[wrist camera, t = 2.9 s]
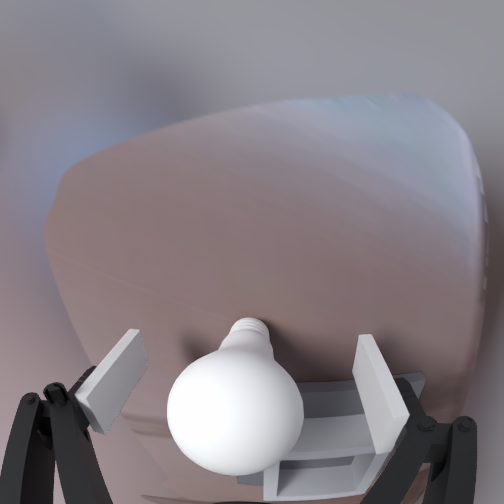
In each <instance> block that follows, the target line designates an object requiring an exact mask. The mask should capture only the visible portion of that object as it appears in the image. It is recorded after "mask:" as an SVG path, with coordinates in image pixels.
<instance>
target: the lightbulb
mask: <svg viewBox="0 0 504 504" xmlns="http://www.w3.org/2000/svg"><path fill="white" fill-rule="evenodd" d="M269 339H270V338H269V331H268V328H267V326H266V325H265V324H264V323H263V322H262V321H260V320H258V319H255V318H243V319H240V320H238V321H237V322H235V324H234V325H233V327H232V328H231V330H230V333H229V335H228V336H227V337H226V338H225V339H224V340H223V342H222V344H221V346H220V348H219V349H218V350H217V351H215V352H212V353H210V354H208V355H206V356H204V357H201V358H199V359H197V360H196V361H194V362H193V363H192V364H190V365H189V366H188V367H187V368H186V369H185V370H184V371H183V372H182V373H181V374H180V375H179V377H178V378H177V379H176V381H175V383H174V385H173V387H172V389H171V392H170V394H169V398H168V405H167V420H168V425H169V428H170V431H171V434H172V436H173V438H174V440H175V442H176V443H177V445H178V446H179V448H180V449H181V451H182V452H183V453H184V454H185V455H186V456H187V457H188V458H190V459H191V460H192V461H194V462H195V463H196V464H198V465H199V466H201V467H203V468H205V469H207V470H210V471H213V472H216V473H220V474H225V475H236V476H239V475H249V474H253V473H257V472H260V471H263V470H266V469H268V468H270V467H272V466H273V465H275V464H276V463H278V462H279V461H280V460H282V459H283V458H284V457H285V456H286V455H287V454H288V453H289V452H290V451H291V450H292V448H293V447H294V445H295V444H296V442H297V440H298V438H299V436H300V433H301V429H302V425H303V420H304V410H303V400H302V397H301V395H300V392H299V390H298V388H297V385H296V383H295V382H294V380H293V379H292V377H291V376H290V375H289V374H288V373H287V372H286V371H285V370H284V369H283V368H282V367H281V366H280V365H279V364H278V363H277V362H276V361H275V360H274V356H273V348H272V346H271V343H270V340H269Z"/></svg>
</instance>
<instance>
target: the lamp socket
mask: <svg viewBox="0 0 504 504" xmlns="http://www.w3.org/2000/svg"><path fill="white" fill-rule="evenodd" d="M392 377H393V379H394V378H401V377H403V378H405V379H406V380H407V381H408V382H409V383H410V384H411V386H412V388H413V391H414V392H415V394H416V396H417V398H418V399H419V397H420V394H421V392H422V389H423V387H424V384H425V382H426V378H425V376H424V375H423V373H422V372H421V371H419V372H413V373H406V374H400V375H392ZM296 385H297V388H298V390H299V392H300V395H301V397H302V400H303V410H304V420H303V425H302V429H301V433H300V436H299V438H298V440H297V442H296V444H295V445H294V447H293V448H292V450H291V451H290V452H289V453H288V454H287V455H286V456H285V457H284V458H283V459H282V460H280V461H279V462H278V463H276V464H275V465H273V466H272V467H270V468H268V469H266V470H263V471H260V472H257V473H253V474H249V475H239V476H237V480H238V484H245V485H264V501H296V500H315V499H328V498H337V497H345V496H352V495H359V494H364V493H365V492H366V490H367V489H368V487H369V486H370V484H371V482H372V481H373V479H374V478H375V477H378V476H379V474H380V473H381V471H382V469H383V468H384V466H385V464H386V463H387V461H388V459H389V458H390V456H391V454H392V452H393V450H394V449H395V447H396V446H395V445H394V447H393V449H392V451H391V452H386V453H381V454H376V451H375V448H374V444H373V440H372V436H371V433H370V429H369V426H368V422H367V419H366V415H365V412H364V408H363V405H362V401H361V398H360V395H359V391H358V388H357V385H356V382H355V380H344V381H329V382H304V383H296Z"/></svg>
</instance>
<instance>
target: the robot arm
mask: <svg viewBox="0 0 504 504" xmlns="http://www.w3.org/2000/svg"><path fill="white" fill-rule="evenodd" d="M148 365H149V363H148V359H147V356H146V352H145V348H144V344H143V340H142V336H141V331H140V330H136V329H129V330H128V331H127V333H126V334H125V335H124V336H123V337H122V338H121V339H120V341H119V342H118V343H117V344H116V345H115V346H114V348H113V349H112V350H111V351H110V352H109V353H108V355H107V356H106V357H105V358H104V359H103V360H102V362H101V363H100V364H99V365H98V366H92V367H91V368H89V369H88V370H86V372H85V373H84V374H83V375H82V376H81V377H80V378H79V381H77V382H76V383H75V384H74V386H73V387H72V388H71V389H70V390H69V391H68V393H67V391H66V389H65V387H64V385H63V384H62V383H58V382H55V383H52V384H49V385H47V386H46V387H45V389H44V391H43V393H44V395H45V397H46V399H47V400H41V399H40V397H39V395H38V394H37V393H33V392H31V393H27V394H25V395H24V396H23V397H22V399H21V400H20V403H19V406H18V409H17V412H16V415H15V419H14V422H13V425H12V429H11V432H10V436H9V440H8V443H7V447H6V451H5V456H4V460H3V465H2V470H1V476H0V504H53V489H54V472H55V460H56V463H57V468H58V473H59V478H60V482H61V487H62V491H63V495H64V499H65V502H66V504H113V502H112V500H111V498H110V495H109V492H108V490H107V487H106V485H105V482H104V479H103V476H102V473H101V471H100V468H99V465H98V461H97V458H96V455H95V452H94V448H93V445H92V441H91V438H90V434H89V432H88V429H87V427H88V426H89V424H90V425H91V427H92V428H93V430H94V431H95V432H98V433H101V434H104V435H106V433H107V431H108V430H109V428H110V427H111V425H112V423H113V422H114V420H115V418H116V417H117V415H118V414H119V412H120V410H121V409H122V407H123V405H124V404H125V402H126V401H127V399H128V397H129V396H130V394H131V392H132V391H133V389H134V388H135V386H136V384H137V383H138V381H139V380H140V378H141V376H142V375H143V373H144V372H145V370H146V369H147V367H148ZM352 372H353V375H354V379H355V382H356V385H357V388H358V391H359V395H360V398H361V401H362V405H363V408H364V412H365V415H366V419H367V422H368V426H369V429H370V433H371V436H372V440H373V444H374V448H375V451H376V454H381V453H386V452H391V451H392V449H393V447H394V445H395V446H396V449H397V450H396V452H395V454H394V455H393V457H392V459H391V460H390V462H389V463H388V465H387V466H386V468H385V470H384V471H383V473H382V474H381V475H380V477H379V478H378V480H377V481H376V483H375V484H374V485H373V487H372V488H371V490H370V491H369V492H368V494H367V495H366V496H365V498H364V499H363V500H362V501H361V503H360V504H400V503H401V501H402V499H403V498H404V496H405V494H406V493H407V491H408V489H409V487H410V486H411V484H412V482H413V480H414V479H415V477H416V475H417V473H418V471H419V469H420V467H421V465H422V463H431V466H430V471H429V477H428V482H427V486H426V491H425V495H424V499H423V503H422V504H473V500H474V493H475V482H476V468H477V425H476V422H475V421H474V420H473V419H472V418H470V417H467V416H460V417H458V418H456V420H455V421H454V422H453V424H441V423H437V421H436V420H435V419H434V418H432V417H430V416H426V414H425V412H424V410H423V408H422V406H421V404H420V402H419V400H418V398H417V396H416V394H415V392H414V391H413V388H412V386H411V384H410V383H409V382H408V381H407V380H406V379H405V378H403V377H401V378H394V379H393V377H392V375H391V373H390V371H389V369H388V367H387V365H386V363H385V361H384V358H383V356H382V354H381V352H380V350H379V348H378V346H377V344H376V342H375V340H374V339H373V337H372V335H371V334H366V335H359V338H358V344H357V350H356V355H355V360H354V365H353V370H352ZM216 504H262V503H248V502H226V503H216Z"/></svg>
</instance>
